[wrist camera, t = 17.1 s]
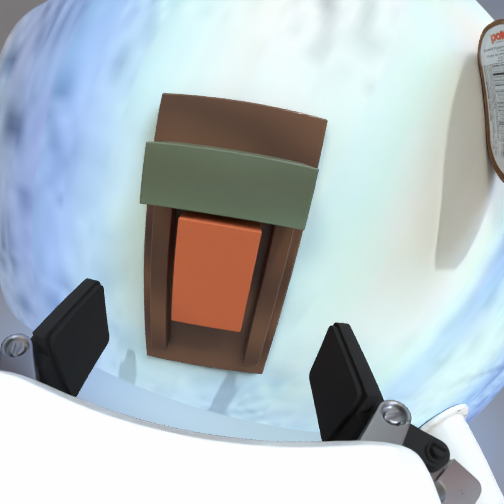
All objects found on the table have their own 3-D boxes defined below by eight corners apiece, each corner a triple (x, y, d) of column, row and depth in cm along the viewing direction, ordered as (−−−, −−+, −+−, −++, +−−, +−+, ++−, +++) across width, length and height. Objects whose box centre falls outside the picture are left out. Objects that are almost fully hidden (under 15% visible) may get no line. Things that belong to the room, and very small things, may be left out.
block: (193, 200, 16) (178, 217, 13) (258, 211, 17) (262, 232, 13) (184, 286, 18) (170, 320, 15) (241, 296, 19) (240, 332, 15)
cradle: (261, 366, 23) (264, 411, 18) (149, 347, 22) (133, 389, 17) (323, 121, 15) (351, 113, 11) (166, 95, 15) (137, 79, 10)
